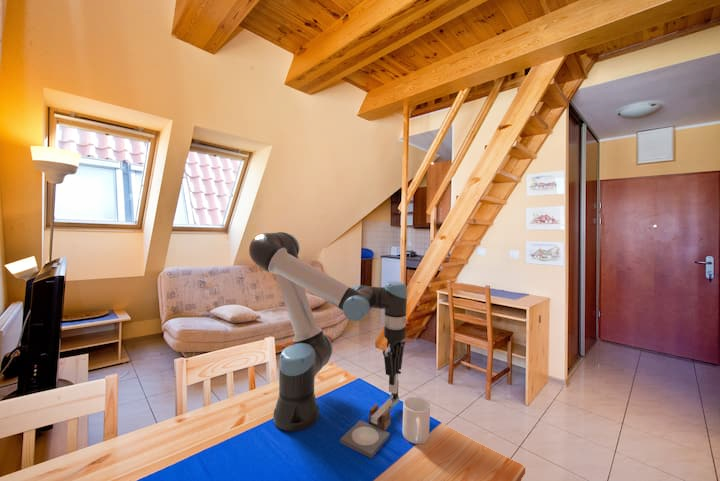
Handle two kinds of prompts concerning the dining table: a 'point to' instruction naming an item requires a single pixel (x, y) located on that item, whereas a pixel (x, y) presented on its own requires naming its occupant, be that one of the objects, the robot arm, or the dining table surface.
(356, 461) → the dining table surface
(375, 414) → the crank handle
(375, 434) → the dock pad
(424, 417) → the mug
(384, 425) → the mount
